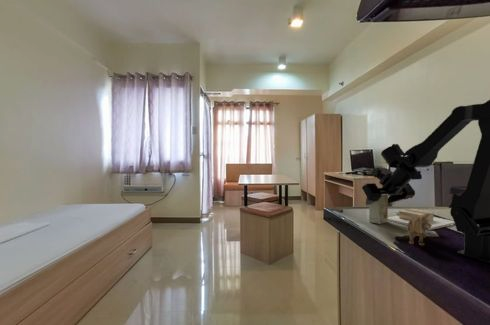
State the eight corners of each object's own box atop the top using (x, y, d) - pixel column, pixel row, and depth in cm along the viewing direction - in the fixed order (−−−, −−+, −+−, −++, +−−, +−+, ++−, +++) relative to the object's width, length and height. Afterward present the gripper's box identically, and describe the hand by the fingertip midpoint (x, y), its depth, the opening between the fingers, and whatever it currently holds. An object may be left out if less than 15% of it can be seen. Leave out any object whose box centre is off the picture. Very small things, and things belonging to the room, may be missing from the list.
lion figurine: (431, 250, 71) (432, 217, 71) (408, 247, 74) (409, 215, 73) (425, 235, 84) (425, 207, 84) (405, 233, 87) (406, 206, 86)
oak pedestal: (420, 223, 95) (420, 215, 95) (399, 218, 103) (399, 210, 102) (433, 220, 99) (433, 212, 99) (412, 216, 106) (412, 208, 106)
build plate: (428, 230, 89) (428, 228, 89) (385, 219, 104) (385, 217, 104) (457, 223, 97) (457, 221, 97) (413, 214, 111) (413, 213, 111)
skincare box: (379, 224, 97) (380, 191, 97) (368, 222, 101) (368, 190, 100) (388, 221, 101) (388, 190, 100) (377, 219, 104) (377, 189, 104)
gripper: (409, 160, 98) (386, 186, 109) (365, 161, 94) (346, 188, 105) (427, 183, 90) (401, 208, 102) (381, 185, 86) (359, 211, 97)
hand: (376, 203), depth 102 cm, fingers open, 9 cm apart
